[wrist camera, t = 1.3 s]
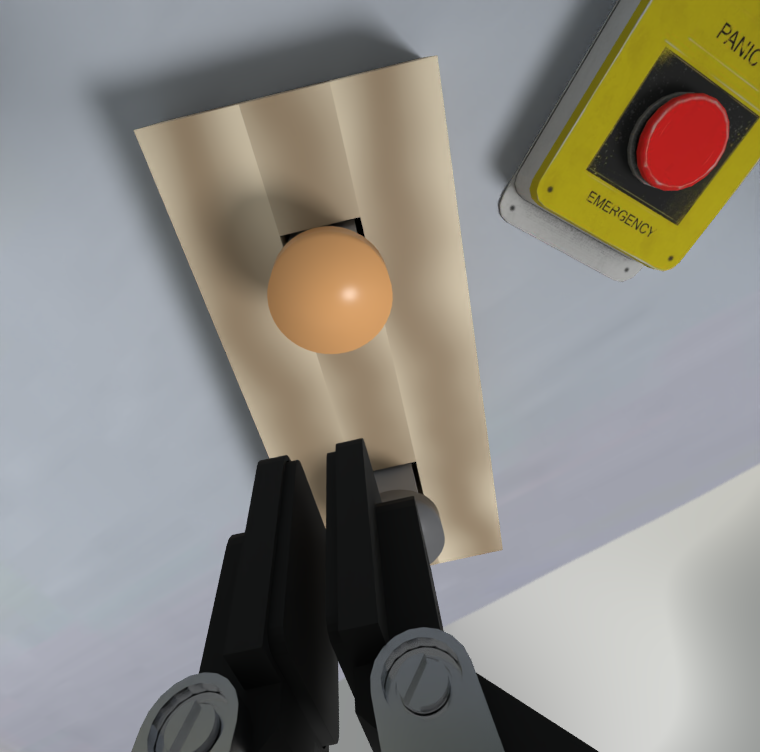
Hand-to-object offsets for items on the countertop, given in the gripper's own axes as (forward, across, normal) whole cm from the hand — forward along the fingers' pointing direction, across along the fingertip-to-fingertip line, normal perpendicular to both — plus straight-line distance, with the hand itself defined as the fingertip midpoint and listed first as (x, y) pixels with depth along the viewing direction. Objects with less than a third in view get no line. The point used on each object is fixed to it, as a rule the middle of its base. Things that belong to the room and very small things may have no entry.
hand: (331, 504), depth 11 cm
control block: (+19, 0, +7) cm, 20 cm away
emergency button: (+20, -17, -2) cm, 26 cm away
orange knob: (+17, 0, 0) cm, 17 cm away
